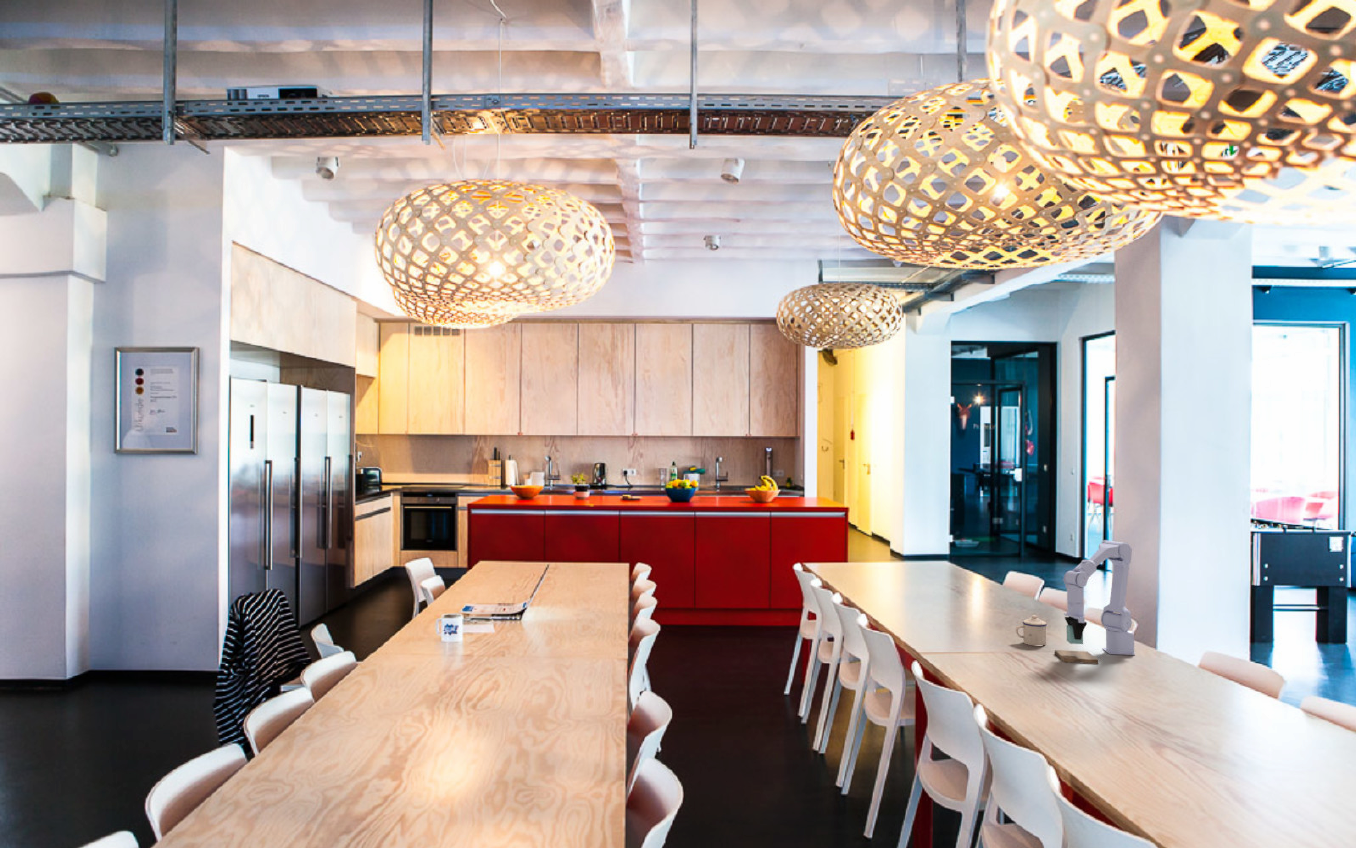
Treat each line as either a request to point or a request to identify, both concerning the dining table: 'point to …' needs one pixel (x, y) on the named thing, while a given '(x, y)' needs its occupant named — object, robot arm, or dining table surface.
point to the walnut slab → (1076, 656)
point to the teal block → (1072, 636)
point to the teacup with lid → (1033, 631)
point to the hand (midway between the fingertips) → (1075, 637)
